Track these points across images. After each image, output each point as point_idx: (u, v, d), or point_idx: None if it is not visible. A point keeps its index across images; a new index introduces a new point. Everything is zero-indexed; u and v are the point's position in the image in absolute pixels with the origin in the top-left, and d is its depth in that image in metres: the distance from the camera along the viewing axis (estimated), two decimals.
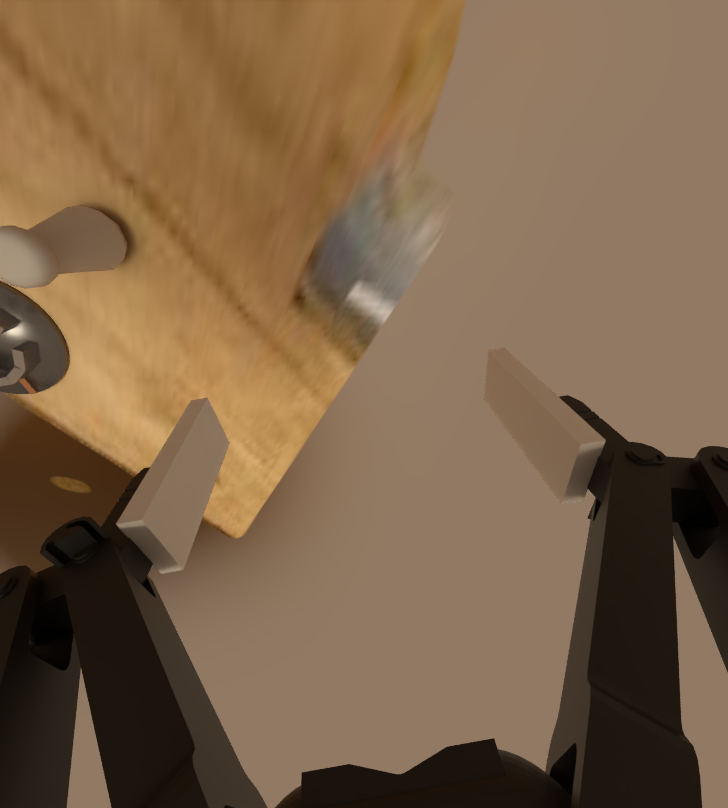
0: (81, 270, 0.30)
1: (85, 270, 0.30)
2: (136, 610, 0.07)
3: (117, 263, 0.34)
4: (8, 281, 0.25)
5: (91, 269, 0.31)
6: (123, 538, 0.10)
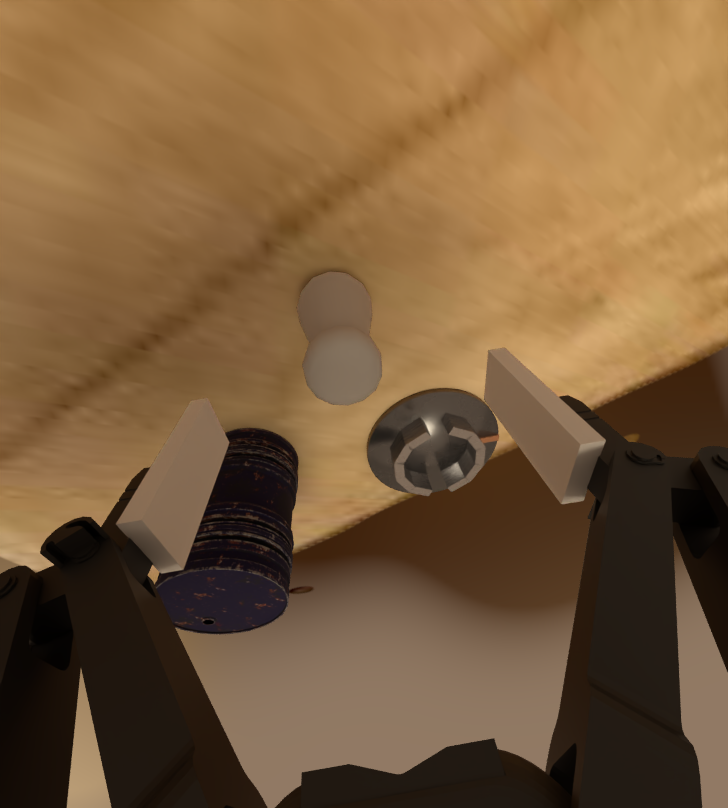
0: (367, 321, 0.22)
1: (367, 318, 0.22)
2: (136, 610, 0.07)
3: (363, 288, 0.25)
4: (371, 388, 0.18)
5: (367, 313, 0.23)
6: (123, 538, 0.10)
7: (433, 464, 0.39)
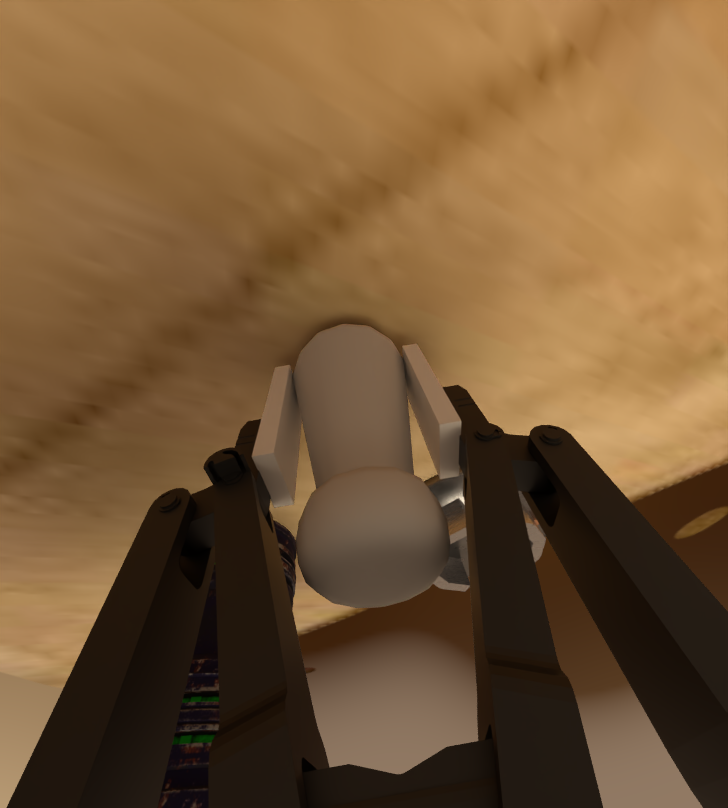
0: (406, 416, 0.13)
1: (406, 408, 0.14)
2: (260, 543, 0.09)
3: (395, 349, 0.16)
4: (427, 587, 0.09)
5: (404, 397, 0.14)
6: (253, 470, 0.11)
7: None
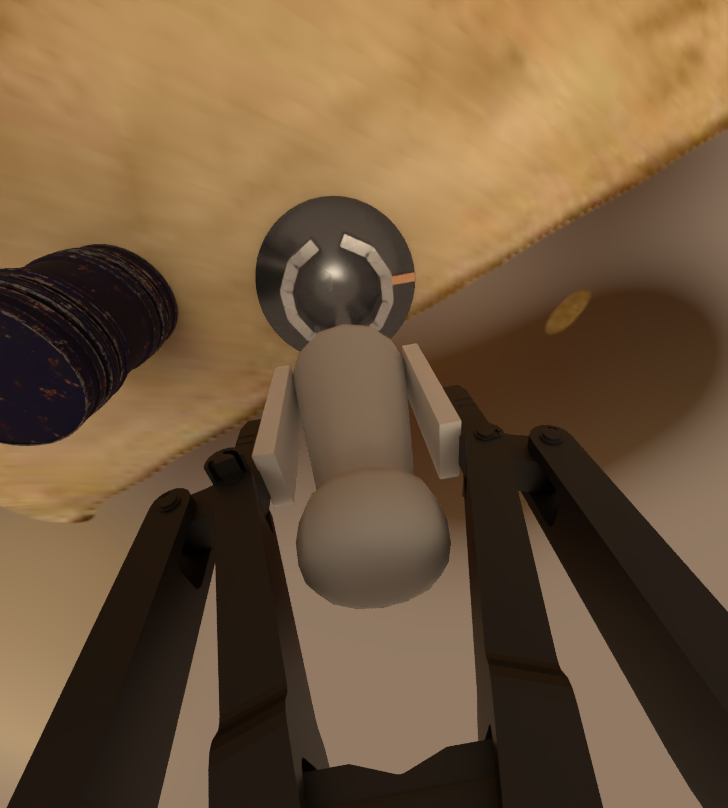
0: (406, 417, 0.13)
1: (406, 409, 0.14)
2: (260, 543, 0.09)
3: (395, 350, 0.16)
4: (428, 588, 0.09)
5: (404, 397, 0.14)
6: (253, 470, 0.11)
7: (341, 315, 0.33)
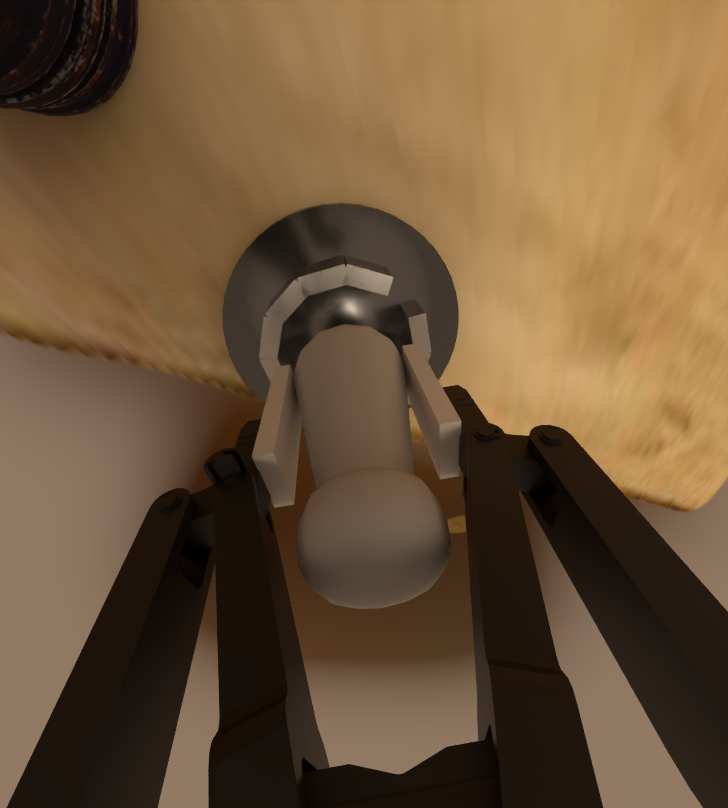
0: (406, 417, 0.13)
1: (406, 409, 0.14)
2: (260, 542, 0.09)
3: (395, 350, 0.16)
4: (428, 588, 0.09)
5: (404, 398, 0.14)
6: (253, 470, 0.11)
7: None
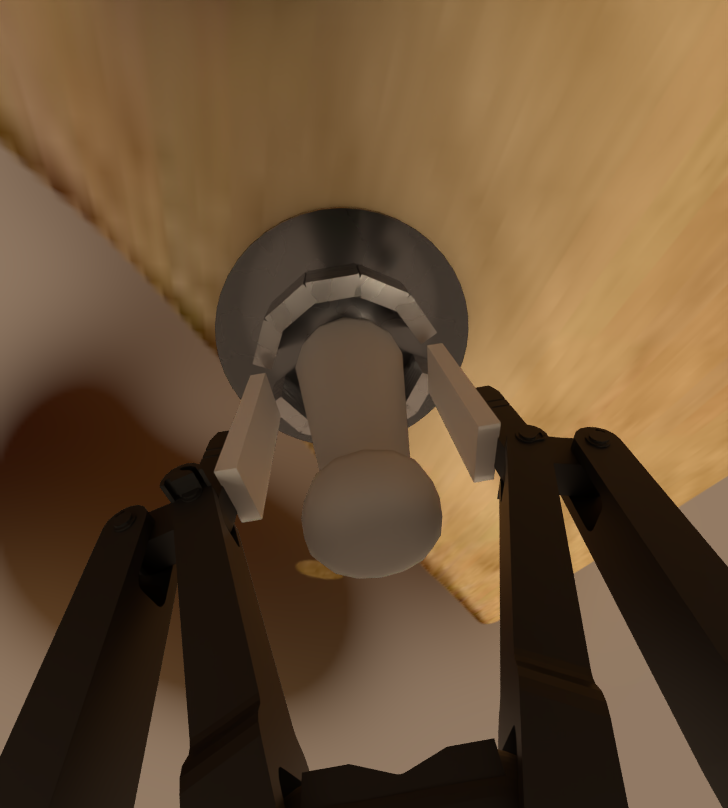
0: (403, 405, 0.14)
1: (403, 398, 0.14)
2: (225, 557, 0.08)
3: (392, 342, 0.17)
4: (422, 558, 0.10)
5: (401, 387, 0.15)
6: (217, 486, 0.11)
7: None
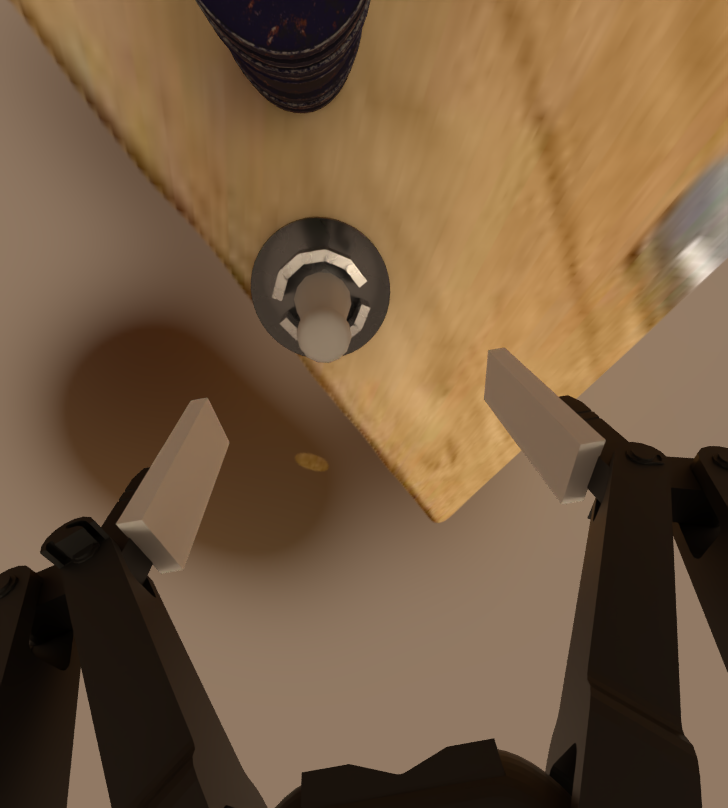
0: (344, 306, 0.30)
1: (344, 305, 0.30)
2: (136, 610, 0.07)
3: (343, 284, 0.33)
4: (343, 349, 0.26)
5: (345, 301, 0.31)
6: (123, 538, 0.10)
7: None
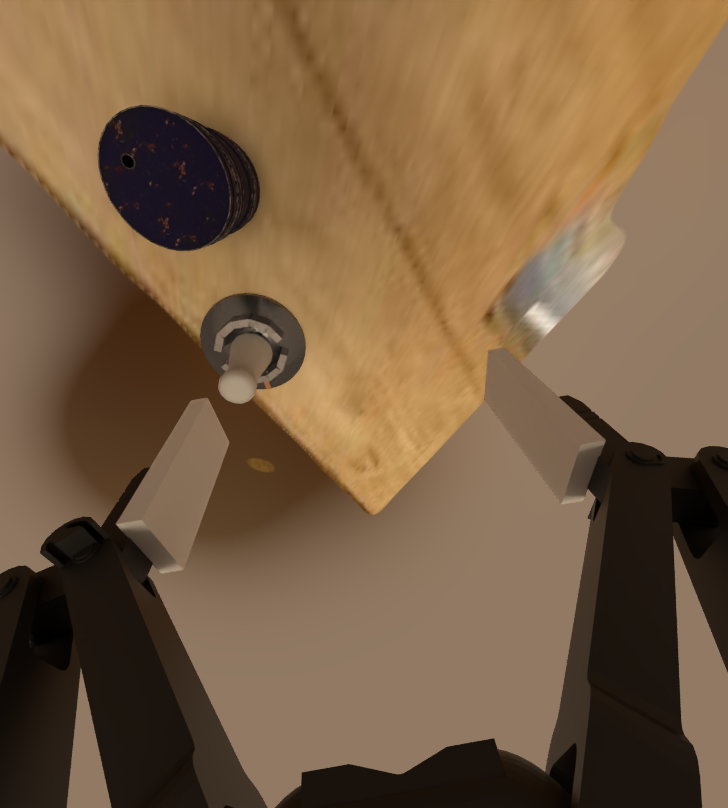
0: (259, 361, 0.43)
1: (260, 359, 0.44)
2: (136, 610, 0.07)
3: (264, 341, 0.46)
4: (249, 396, 0.39)
5: (261, 356, 0.44)
6: (123, 538, 0.10)
7: None
